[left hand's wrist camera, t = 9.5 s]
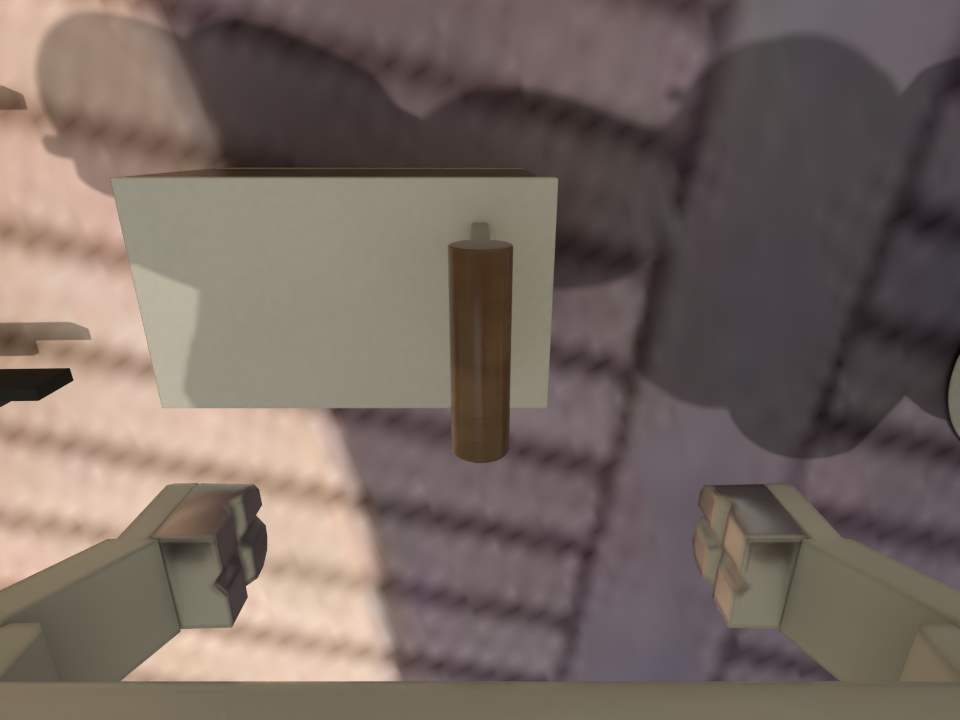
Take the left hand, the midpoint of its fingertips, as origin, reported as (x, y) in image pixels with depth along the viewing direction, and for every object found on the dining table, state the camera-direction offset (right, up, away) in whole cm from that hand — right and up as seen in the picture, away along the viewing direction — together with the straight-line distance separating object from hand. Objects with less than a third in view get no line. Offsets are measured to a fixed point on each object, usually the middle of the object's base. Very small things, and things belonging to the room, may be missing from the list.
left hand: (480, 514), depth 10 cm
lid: (-6, +6, +15) cm, 17 cm away
